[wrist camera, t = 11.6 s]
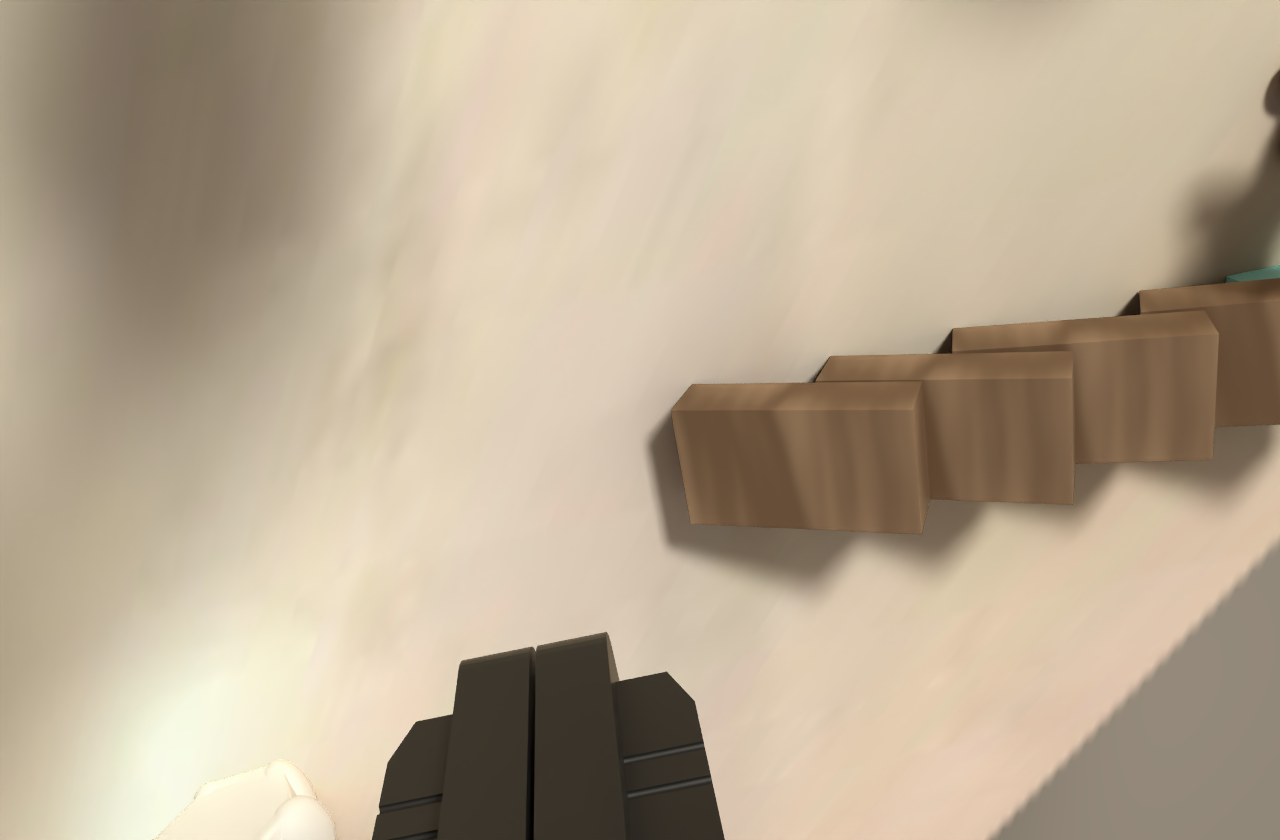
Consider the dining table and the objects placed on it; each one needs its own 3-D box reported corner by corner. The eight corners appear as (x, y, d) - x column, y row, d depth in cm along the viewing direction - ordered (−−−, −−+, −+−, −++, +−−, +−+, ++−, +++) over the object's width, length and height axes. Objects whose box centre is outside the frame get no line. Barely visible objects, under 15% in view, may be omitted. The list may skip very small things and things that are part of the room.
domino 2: (829, 495, 40) (1072, 504, 36) (815, 380, 38) (1071, 378, 34) (842, 465, 42) (1075, 472, 38) (830, 356, 40) (1074, 351, 36)
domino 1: (690, 523, 40) (921, 534, 36) (670, 410, 38) (912, 409, 35) (710, 493, 42) (930, 500, 39) (691, 384, 40) (922, 381, 37)
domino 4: (1146, 429, 40) (1425, 419, 36) (1140, 312, 38) (1433, 287, 34) (1144, 403, 42) (1408, 390, 38) (1139, 290, 40) (1415, 265, 36)
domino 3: (959, 467, 40) (1212, 459, 37) (952, 351, 38) (1219, 333, 35) (959, 439, 42) (1199, 430, 39) (952, 328, 40) (1204, 309, 37)
